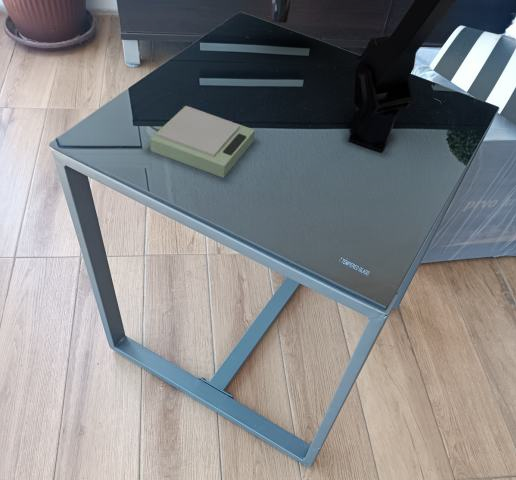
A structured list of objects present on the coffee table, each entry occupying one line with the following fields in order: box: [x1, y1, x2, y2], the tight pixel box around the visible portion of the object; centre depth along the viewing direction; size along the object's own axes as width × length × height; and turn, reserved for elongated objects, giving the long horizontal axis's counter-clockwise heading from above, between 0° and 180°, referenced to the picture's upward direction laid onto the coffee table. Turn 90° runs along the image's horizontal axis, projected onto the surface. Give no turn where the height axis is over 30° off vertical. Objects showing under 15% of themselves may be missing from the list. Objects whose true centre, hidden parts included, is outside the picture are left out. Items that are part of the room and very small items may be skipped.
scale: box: [149, 105, 256, 179], centre depth 81 cm, size 13×12×3 cm
